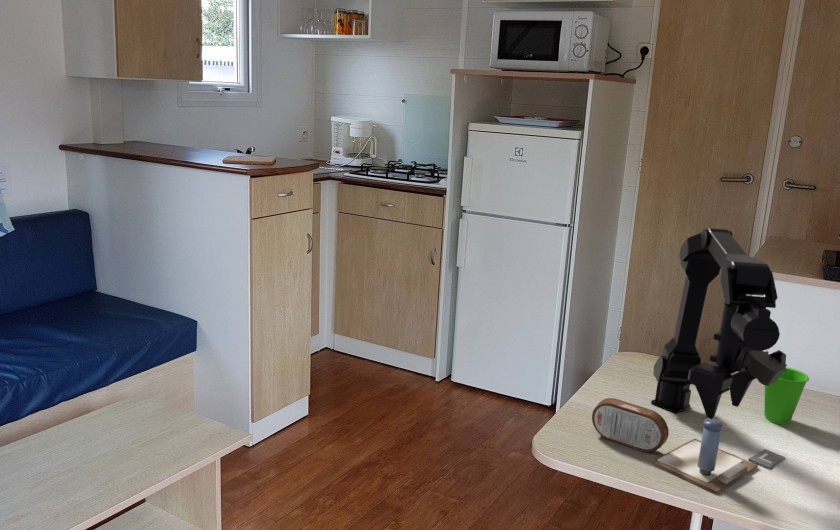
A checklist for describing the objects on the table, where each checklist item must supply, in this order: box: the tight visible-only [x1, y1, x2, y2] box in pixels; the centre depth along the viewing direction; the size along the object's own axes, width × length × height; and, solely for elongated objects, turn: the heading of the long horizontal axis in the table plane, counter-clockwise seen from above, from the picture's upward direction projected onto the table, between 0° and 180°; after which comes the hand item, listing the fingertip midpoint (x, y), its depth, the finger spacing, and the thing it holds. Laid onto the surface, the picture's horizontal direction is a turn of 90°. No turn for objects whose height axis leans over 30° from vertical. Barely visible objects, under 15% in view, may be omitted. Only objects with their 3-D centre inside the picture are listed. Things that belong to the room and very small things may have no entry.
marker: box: [697, 418, 724, 476], centre depth 131 cm, size 3×3×10 cm
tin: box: [591, 397, 670, 453], centre depth 143 cm, size 15×3×8 cm, turn 54°
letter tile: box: [748, 448, 786, 470], centre depth 141 cm, size 4×7×1 cm, turn 131°
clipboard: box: [651, 438, 759, 495], centre depth 137 cm, size 13×16×2 cm
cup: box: [764, 366, 810, 425], centre depth 158 cm, size 9×9×11 cm
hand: (722, 411), depth 130 cm, fingers open, 9 cm apart
